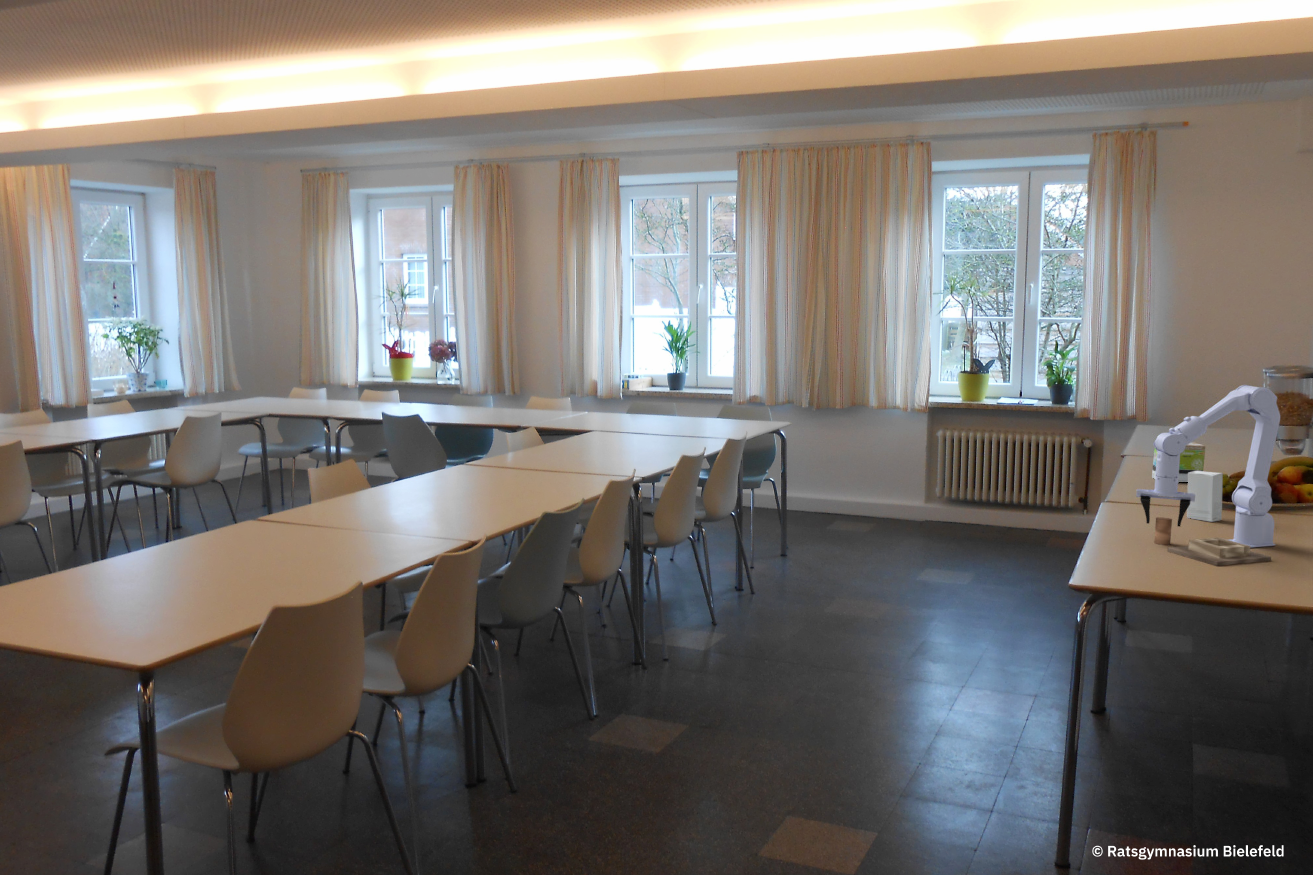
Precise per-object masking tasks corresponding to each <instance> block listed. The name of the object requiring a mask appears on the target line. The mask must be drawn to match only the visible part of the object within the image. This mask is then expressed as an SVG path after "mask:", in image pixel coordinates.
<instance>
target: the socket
mask: <svg viewBox="0 0 1313 875" xmlns="http://www.w3.org/2000/svg"><path fill="white" fill-rule="evenodd" d="M1229 540H1230V539H1225V538H1221V537H1211V538H1198V539H1197V538H1196V539H1189V540H1188V545H1184V546H1182V545H1181V546H1171V547H1167V552H1168V551H1169V552H1168V553H1171V552H1172V554H1175V555H1177V556H1182V557H1186V558H1189V559H1192V560H1196V561H1199V562H1202V563H1206V564H1209V565H1212V566H1215V567H1217V566H1218V567H1219V566H1228V565H1230V566H1231V565H1239V564H1240V565H1242V564H1249V563H1262V562H1270V561H1272V556H1269V555H1266V554H1262V553H1258V552H1254V551H1251V548H1250V546H1248V545H1245V544H1241V543H1237V542H1233V541H1229Z"/></svg>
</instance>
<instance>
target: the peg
mask: <svg viewBox="0 0 1313 875" xmlns="http://www.w3.org/2000/svg"><path fill="white" fill-rule="evenodd" d="M1172 525H1173V518H1170V517H1165V516H1164V517H1163V516H1158V517H1155V527H1154V528H1155V529H1154V544H1156V545H1160V544H1162V545H1161V546H1170V545H1171V539H1172Z"/></svg>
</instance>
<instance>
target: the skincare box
mask: <svg viewBox="0 0 1313 875" xmlns="http://www.w3.org/2000/svg"><path fill="white" fill-rule="evenodd" d="M1223 474H1224V473H1223V472H1215V471H1204V470H1203V471H1193V472H1189V473H1188V483H1187V492H1186V493H1192V494H1195V502H1192V501H1190V505H1189V507H1188V508H1187V510H1186V519H1190V518H1191V519H1192V520H1196V521H1197V520H1198V521H1204V522H1208V523H1209V522H1212V523H1214V522H1219V521H1222V518H1223V517H1222V514H1223ZM1191 519H1190V520H1191Z"/></svg>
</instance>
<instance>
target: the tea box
mask: <svg viewBox="0 0 1313 875" xmlns="http://www.w3.org/2000/svg"><path fill="white" fill-rule="evenodd" d="M1205 455H1206V446H1205V445H1204V444H1200V443H1198V442H1195V441H1192V442H1191V443H1189V444H1188V445H1186V447H1185V449H1184V451H1183V452H1182V453H1180V463H1179V476H1178V483H1179V482H1188V473H1189V472H1193V471H1204V467H1205V466H1204V465H1205ZM1152 460H1153V461H1152V462H1153V463H1152V474H1151V478H1152V479H1153V478H1154V480H1155V474H1156V460H1157V450H1156V449H1155V448H1154V450H1153V459H1152Z"/></svg>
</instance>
